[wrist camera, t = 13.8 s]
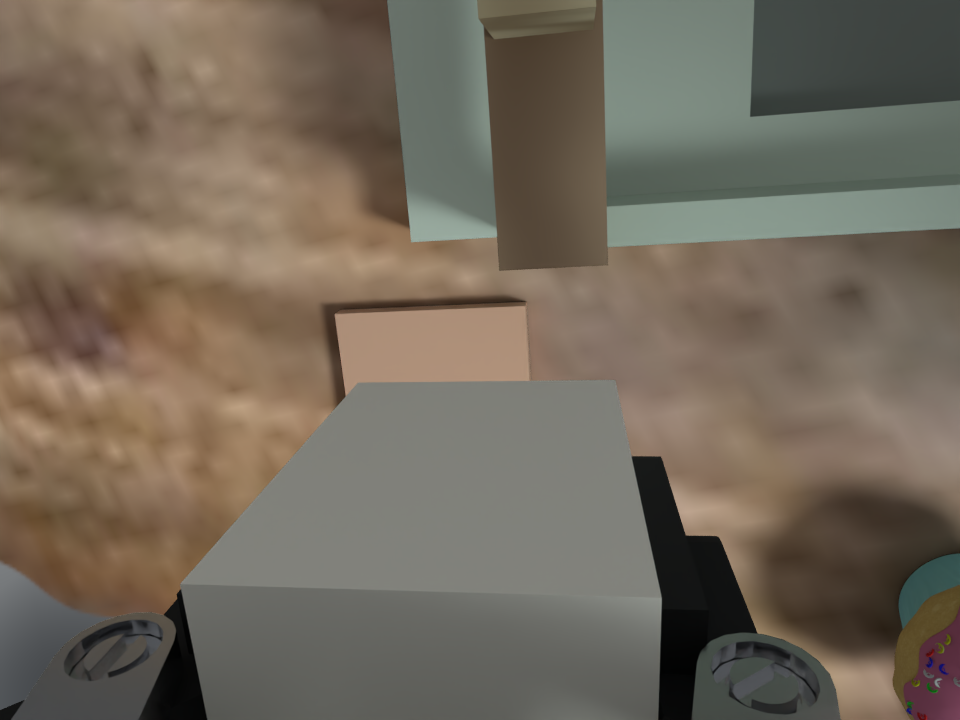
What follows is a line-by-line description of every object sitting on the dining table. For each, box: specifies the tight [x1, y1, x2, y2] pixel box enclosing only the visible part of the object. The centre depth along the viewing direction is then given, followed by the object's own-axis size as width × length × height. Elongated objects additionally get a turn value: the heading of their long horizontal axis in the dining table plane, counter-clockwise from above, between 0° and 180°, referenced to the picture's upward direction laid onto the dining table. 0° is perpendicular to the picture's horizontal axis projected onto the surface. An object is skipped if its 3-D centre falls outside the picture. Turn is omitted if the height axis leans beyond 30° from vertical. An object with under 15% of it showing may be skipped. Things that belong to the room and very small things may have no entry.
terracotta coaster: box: [335, 302, 531, 396], centre depth 30 cm, size 8×8×1 cm
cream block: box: [180, 380, 662, 720], centre depth 10 cm, size 4×4×6 cm
